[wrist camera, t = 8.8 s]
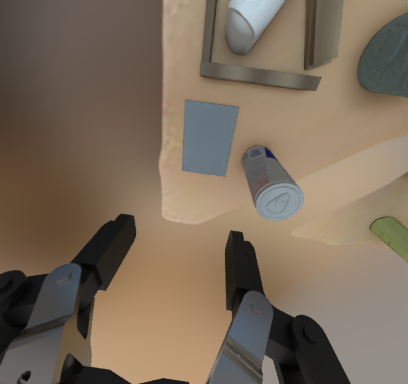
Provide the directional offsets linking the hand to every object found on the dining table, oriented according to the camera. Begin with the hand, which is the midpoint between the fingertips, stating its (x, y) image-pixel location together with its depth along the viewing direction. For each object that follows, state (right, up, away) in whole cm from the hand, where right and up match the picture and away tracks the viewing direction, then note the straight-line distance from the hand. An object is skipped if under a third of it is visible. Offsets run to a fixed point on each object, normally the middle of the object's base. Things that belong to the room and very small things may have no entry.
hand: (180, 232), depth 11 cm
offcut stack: (+16, +26, +11) cm, 32 cm away
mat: (+2, +12, +20) cm, 24 cm away
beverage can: (+12, +9, +22) cm, 26 cm away
